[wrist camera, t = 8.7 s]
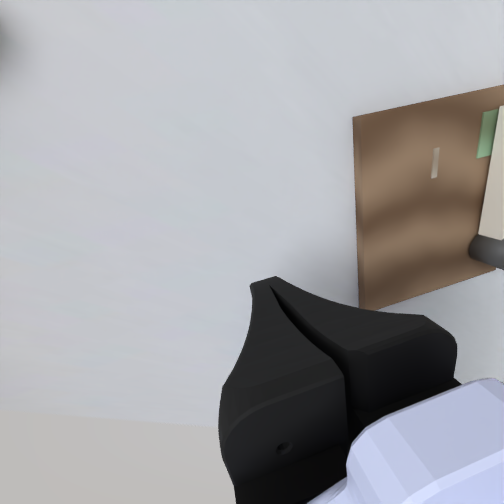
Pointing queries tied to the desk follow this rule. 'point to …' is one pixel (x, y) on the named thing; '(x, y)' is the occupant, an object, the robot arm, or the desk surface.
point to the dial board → (421, 194)
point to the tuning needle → (493, 207)
